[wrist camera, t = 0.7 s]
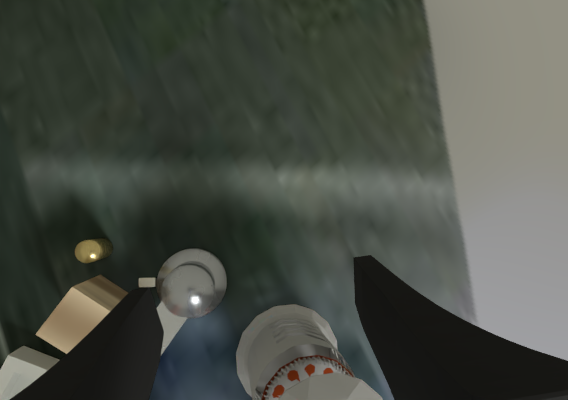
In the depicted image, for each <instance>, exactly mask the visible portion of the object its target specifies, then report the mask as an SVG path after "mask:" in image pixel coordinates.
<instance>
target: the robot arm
mask: <svg viewBox="0 0 568 400" xmlns="http://www.w3.org/2000/svg"><path fill="white" fill-rule="evenodd" d="M354 283H355V304H356V307H357V311H358V314H359V317H360V320H361V323H362V327H363V329H364V332H365V334H366V336H367V338H368V341H369V343H370V345H371V347H372V350H373V352H374V354H375V356H376V358H377V360H378V363H379V365H380V367H381V369H382V371H383V374H384V376H385V378H386V380H387V382H388V385H389V387H390V389H391V392H392V394H393V397H394V399H395V400H568V361H566V360H563V359H560V358H557V357H554V356H551V355H548V354H544V353H541V352H538V351H535V350H532V349H529V348H527V347H524V346H521V345H519V344H516V343H514V342H511V341H508V340H506V339H504V338H501V337H499V336H496V335H494V334H492V333H490V332H488V331H486V330H483V329H481V328H479V327H477V326H475V325H473V324H471V323H469V322H467V321H465V320H463V319H461V318H459V317H457V316H456V315H454V314H452V313H450V312H448V311H447V310H445V309H443V308H441V307H440V306H438V305H436V304H435V303H433V302H432V301H430V300H429V299H427V298H426V297H424V296H423V295H421V294H420V293H418V292H417V291H415V290H414V289H413V288H411V287H410V286H409V285H407V284H406V283H405V282H403V281H402V280H401V279H399V278H398V277H397V276H396V275H394V274H393V273H392V272H391V271H389V270H388V269H387V268H386V267H384V266H383V265H382V264H381V263H380V262H378V261H377V260H376V259H375V258H373V257H372V256H371V255H368V256H362V257H355V258H354ZM163 336H164V330H163V327H162V324H161V321H160V318H159V315H158V312H157V309H156V306H155V303H154V300H153V297H152V294H151V291H150V288H142V289H135V290H131V291H130V292H129V293H128V294H127V295H126V296H125V297H124V298H123V299H122V300H121V301H120V302H119V303H118V304H117V305H116V306H115V307H114V308H113V309H112V310H111V311H110V312H109V313H108V314H107V315H106V316H105V317H104V318H103V319H102V320H101V322H100V323H99V324H98V325H97V326H96V327H95V328H94V329H93V330H92V331H91V332H90V333H89V334H88V335H86V336H85V337H84V338H83V339H82V340H81V341H80V342H79V343H78V344H77V345H76V346H75V347H74V348H73V349H72V350H70V351H69V352H68V353H67V354H66V355H65V356H64V357H63V358H62V359H61V360H59V361H58V362H57V363H56V364H55V365H54V366H52V367H51V368H50V369H49V370H48V371H46V372H45V373H44V374H43V375H41V376H40V377H39V378H38V379H36V380H35V381H34V382H33V383H31V384H30V385H29V386H27V387H26V388H25V389H23V390H22V391H21V392H19V393H18V394H16V395H15V396H14V397H12V398H11V399H10V400H149V397H150V393H151V390H152V386H153V383H154V379H155V376H156V372H157V369H158V365H159V361H160V356H161V350H162V344H163Z"/></svg>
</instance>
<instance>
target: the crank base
mask: <svg viewBox="0 0 568 400" xmlns="http://www.w3.org/2000/svg"><path fill="white" fill-rule="evenodd" d="M112 251H113V245H112V243H111V242H110V241H109V240H108V239H105V238H99V239H92V240H85V241H82V242H80V243H79V244H78V245H77V246H76V249H75V256H76V258H77V259H78V260H79V261H81V262H83V263H90V262H94V261H97V260H100V259H103V258H106V257H108V256H109V255H110V254H111V253H112ZM188 261H197V262H201V263H203V264H205V265H206V266H207V267H208V268H209V269H210V270H211V271H212V273H213V275H214V278H215V289H214V295H213V299H212V301H211V303H210V305H209V306H208V308H207V309H206V310H205V311H203V312H202V313H200V314H199V315H196V316H193V317H188V318H198V317H201V316H204V315H206V314H208V313H210V312H211V311H213V310H214V309H215V308H216V307H217V306H218V305H219V304H220V302H221V301H222V299H223V297H224V294H225V291H226V286H227V276H226V271H225V268H224V266H223V264H222V262H221V261H220V260H219V258H218V257H216V256H215V255H214V254H213V253H211V252H209V251H207V250H204V249H200V248H189V249H184V250H181V251H179V252H177V253H176V254H174V255H172V256H171V257H170V258H169V259H168V260H167V261H166V262H165V263H164V264H163V265H162V267H161V269H160V271H159V273H158V277H157V293H158V297H159V299H160V301H161V302H162V297H161V288H162V284H163V282H164V280H165V278H166V277H167V275H168V274H169V273H170V272H171V271H173V270H174V269H175V268H176V267H177V266H178V265H180V264H182V263H184V262H188ZM139 287H156V277H147V278H139Z"/></svg>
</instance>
